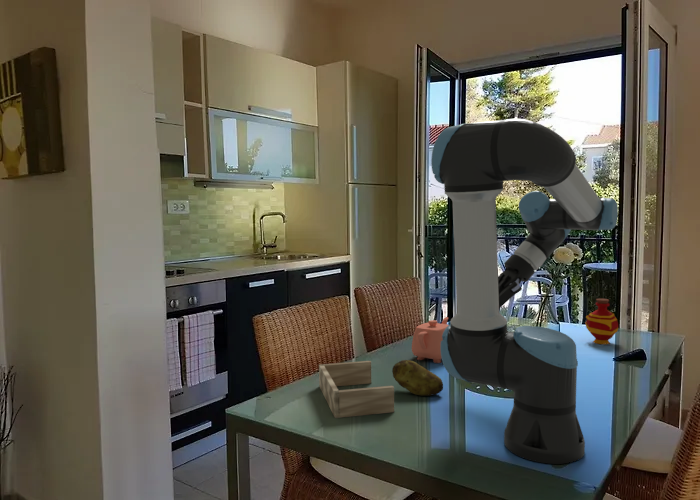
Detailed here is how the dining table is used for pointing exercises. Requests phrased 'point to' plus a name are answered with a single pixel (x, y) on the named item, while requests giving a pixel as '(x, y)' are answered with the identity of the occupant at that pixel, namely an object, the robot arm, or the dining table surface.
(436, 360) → the teapot
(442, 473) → the dining table surface
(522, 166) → the robot arm
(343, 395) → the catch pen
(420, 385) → the potato
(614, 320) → the red yellow vase
